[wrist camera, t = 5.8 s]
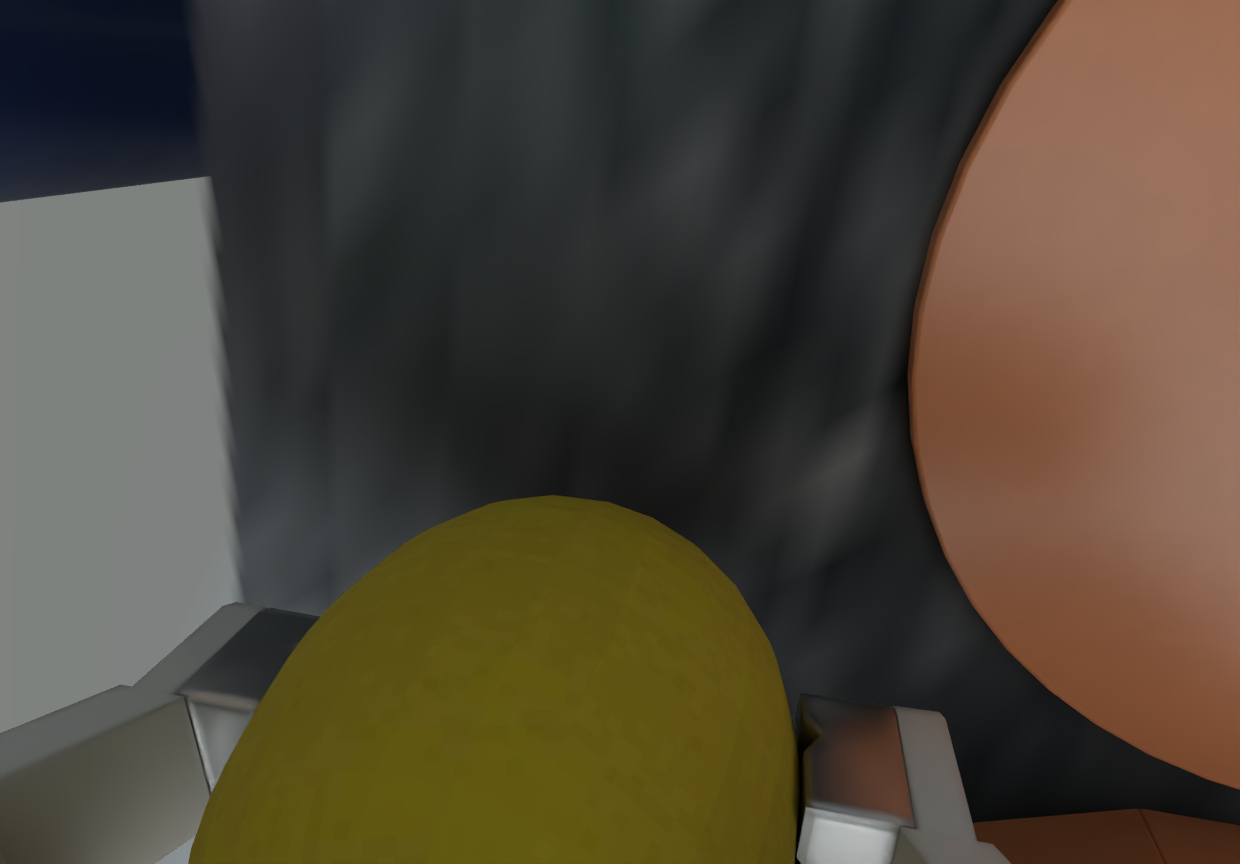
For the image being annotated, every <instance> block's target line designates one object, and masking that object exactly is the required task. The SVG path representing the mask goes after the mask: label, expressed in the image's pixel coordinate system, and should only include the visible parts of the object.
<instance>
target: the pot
mask: <svg viewBox="0 0 1240 864" xmlns="http://www.w3.org/2000/svg"><path fill="white" fill-rule="evenodd" d="M973 827H974V831H975V835H976V838H977V841H980V842H985V843H990V844H993V845H994V846H995V847H996V848H997V849H998V850H999V851H1000V852H1001V853H1002V854H1003V855H1004V856H1005V857H1006V859H1007V860H1008V861H1009V862H1010V863H1011V864H1240V825H1234V824H1228V823H1223V822H1217V821H1211V820H1205V819H1199V818H1194V817H1188V816H1182V815H1176V814H1170V813H1165V812H1159V811H1153V810H1147V809H1140V810H1139V809H1124V810H1113V811H1101V812H1090V813H1079V814H1067V815H1056V816H1044V817H1033V818H1022V819H1010V820H999V821H987V822H976V823H973Z"/></svg>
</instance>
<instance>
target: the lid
mask: <svg viewBox="0 0 1240 864" xmlns="http://www.w3.org/2000/svg"><path fill="white" fill-rule="evenodd" d="M907 377H908V398H909V419H910V437H911V442H912V447H913V452H914V457H915V462H916V467H917V472H918V476H919V481H920V486H921V491H922V495H923V498H924V502H925V505H926V507H927V510H928V513H929V515H930V518H931V521H932V523H933V526H934V529H935V532H936V534H937V537H938V540H939V542H940V545H941V548H942V550H943V553H944V556H945V558H946V560H947V561H948V563H949V565H950V567H951V569H952V570H953V572H954V574H955V576H956V577H957V579H958V581H959V583H960V585H961V586H962V588H963V590H964V592H965V594H966V595H967V597H968V599H969V601H970V602H971V604H972V606H973V607H974V608H975V610H976V611H977V612H978V613H979V615H980V616H981V617H982V619H983V620H984V621H985V623H986V624H987V625H988V626H989V628H990V629H991V630H992V632H993V633H994V634H995V635H996V637H997V638H998V639H999V641H1000V642H1001V643H1002V644H1003V646H1004V647H1005V648H1006V649H1007V650H1008V651H1009V652H1010V653H1011V654H1012V655H1013V656H1014V657H1015V658H1016V659H1017V660H1018V661H1019V662H1020V663H1021V664H1022V665H1023V666H1024V667H1025V668H1026V669H1027V670H1028V671H1029V672H1030V673H1031V674H1032V675H1033V676H1034V677H1036V678H1037V679H1038V680H1039V681H1040V682H1041V683H1042V684H1043V685H1044V686H1045V687H1046V688H1047V689H1048V690H1050V691H1051V692H1052V693H1054V694H1055V695H1056V696H1058V697H1059V698H1060V699H1062V700H1063V701H1065V702H1066V703H1067V704H1069V705H1070V706H1071V707H1073V708H1074V709H1075V710H1077V711H1078V712H1079V713H1081V714H1082V715H1083V716H1085V717H1086V718H1087V719H1089V720H1090V721H1092V722H1093V723H1094V724H1096V725H1097V726H1099V727H1101V728H1103V729H1104V730H1106V731H1108V732H1110V733H1111V734H1113V735H1115V736H1117V737H1119V738H1120V739H1122V740H1124V741H1126V742H1127V743H1129V744H1131V745H1133V746H1134V747H1136V748H1138V749H1140V750H1141V751H1143V752H1145V753H1147V754H1149V755H1151V756H1153V757H1156V758H1158V759H1160V760H1163V761H1165V762H1167V763H1170V764H1172V765H1174V766H1177V767H1179V768H1181V769H1184V770H1186V771H1188V772H1191V773H1193V774H1195V775H1198V776H1200V777H1202V778H1205V779H1207V780H1210V781H1213V782H1217V783H1220V784H1223V785H1226V786H1229V787H1233V788H1236V789H1239V790H1240V0H1058V1H1057V2H1056V3H1055V5H1054V6H1053V8H1052V9H1051V11H1050V12H1049V13H1048V15H1047V16H1046V18H1045V19H1044V21H1043V22H1042V24H1041V25H1040V27H1039V28H1038V30H1037V31H1036V33H1035V34H1034V36H1033V37H1032V39H1031V40H1030V42H1029V43H1028V44H1027V46H1026V47H1025V49H1024V50H1023V52H1022V53H1021V55H1020V56H1019V58H1018V59H1017V61H1016V62H1015V64H1014V65H1013V67H1012V68H1011V70H1010V71H1009V73H1008V74H1007V76H1006V77H1005V78H1004V80H1003V81H1002V83H1001V84H1000V86H999V88H998V90H997V92H996V94H995V96H994V98H993V100H992V101H991V103H990V105H989V107H988V109H987V111H986V113H985V115H984V117H983V119H982V121H981V122H980V124H979V126H978V128H977V130H976V132H975V134H974V136H973V138H972V140H971V141H970V143H969V145H968V147H967V149H966V151H965V153H964V155H963V157H962V159H961V160H960V162H959V165H958V168H957V170H956V173H955V175H954V178H953V181H952V183H951V186H950V189H949V191H948V194H947V196H946V199H945V202H944V204H943V207H942V209H941V212H940V215H939V217H938V220H937V223H936V225H935V228H934V230H933V233H932V236H931V239H930V243H929V247H928V251H927V256H926V260H925V264H924V268H923V272H922V276H921V280H920V285H919V289H918V293H917V297H916V301H915V305H914V312H913V322H912V332H911V342H910V352H909V363H908V373H907Z"/></svg>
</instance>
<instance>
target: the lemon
mask: <svg viewBox="0 0 1240 864" xmlns="http://www.w3.org/2000/svg"><path fill="white" fill-rule="evenodd" d="M799 795H800V791H799V757H798V748H797V740H796V734H795V729H794V724H793V720H792V715H791V711H790V707H789V704H788V700H787V696H786V693H785V689H784V685H783V682H782V678H781V674H780V671H779V667H778V663H777V660H776V657H775V655H774V652H773V649H772V646H771V644H770V642H769V640H768V638H767V636H766V635H765V633H764V631H763V630H762V628H761V626H760V625H759V623H758V621H757V620H756V618H755V617H754V615H753V613H752V612H751V610H750V608H749V607H748V605H747V603H746V602H745V600H744V598H743V597H742V595H741V593H740V592H739V590H738V588H737V587H736V585H735V584H734V583H733V582H732V581H731V580H730V579H729V578H728V577H727V576H726V575H725V574H724V573H723V572H722V571H721V570H720V569H719V568H718V567H717V566H716V565H715V564H714V563H713V562H712V561H711V560H710V559H709V558H708V557H707V556H706V555H705V554H704V553H703V552H702V551H701V550H700V549H699V548H698V547H697V546H696V545H695V544H693V543H692V542H690V541H689V540H687V539H686V538H684V537H682V536H681V535H679V534H678V533H676V532H675V531H673V530H671V529H670V528H668V527H667V526H665V525H663V524H662V523H660V522H659V521H657V520H656V519H654V518H652V517H649V516H646V515H644V514H641V513H638V512H635V511H632V510H630V509H627V508H624V507H621V506H618V505H616V504H613V503H610V502H605V501H597V500H589V499H582V498H574V497H566V496H557V495H548V496H539V497H530V498H521V499H512V500H504V501H500V502H495V503H490V504H487V505H485V506H482V507H480V508H477V509H475V510H473V511H470V512H468V513H465V514H463V515H460V516H458V517H455V518H453V519H450V520H448V521H445V522H443V523H441V524H439V525H436V526H434V527H432V528H430V529H427V530H425V531H424V532H422V533H420V534H419V535H417V536H416V537H414V538H412V539H411V540H409V541H407V542H406V543H405V544H403V545H402V546H401V547H400V548H398V549H397V550H396V551H394V552H393V553H392V554H391V555H389V556H388V557H387V558H385V559H384V560H383V561H382V562H381V563H379V564H378V565H377V566H376V567H374V568H373V569H372V570H371V571H370V572H368V573H367V574H366V575H365V576H364V577H362V578H361V579H360V580H359V581H357V582H356V583H355V584H354V585H353V586H351V587H350V588H349V589H348V590H347V591H346V592H345V593H344V594H342V595H341V596H340V597H339V598H338V599H337V600H336V601H335V602H334V603H333V604H332V605H331V606H330V607H329V608H328V609H327V610H326V611H325V612H324V613H323V614H322V616H321V617H320V618H319V619H318V620H317V621H316V623H315V624H314V625H313V626H312V627H311V628H310V629H309V631H308V632H307V633H306V634H305V636H304V637H303V638H302V640H301V641H300V642H299V644H298V645H297V647H296V648H295V649H294V651H293V652H292V653H291V655H290V656H289V657H288V659H287V660H286V662H285V664H284V665H283V667H282V668H281V670H280V671H279V673H278V675H277V676H276V678H275V679H274V681H273V683H272V684H271V686H270V687H269V689H268V690H267V692H266V694H265V696H264V697H263V699H262V701H261V702H260V704H259V706H258V708H257V709H256V711H255V713H254V714H253V716H252V718H251V719H250V721H249V723H248V725H247V726H246V728H245V730H244V731H243V733H242V735H241V737H240V739H239V741H238V742H237V744H236V746H235V748H234V750H233V751H232V753H231V755H230V757H229V759H228V761H227V762H226V764H225V766H224V768H223V770H222V772H221V775H220V777H219V779H218V781H217V783H216V785H215V788H214V790H213V792H212V794H211V796H210V798H209V800H208V803H207V805H206V807H205V810H204V813H203V816H202V819H201V822H200V825H199V828H198V831H197V834H196V837H195V839H194V842H193V845H192V848H191V853H190V858H189V864H795V856H796V837H797V823H798V810H799Z"/></svg>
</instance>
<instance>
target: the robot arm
mask: <svg viewBox="0 0 1240 864" xmlns="http://www.w3.org/2000/svg"><path fill="white" fill-rule="evenodd" d="M319 618H320V617H319V616H313V615H308V614H302V613H297V612H291V611H286V610H280V609H275V608H265V607H259V606H254V605H249V604H243V603H238V602H235V603H232V604H228V605H225V606H222V607H221V608H220V609H219V610H218V611H217V612H216V613H215V614H213V615H212V616H211V617H210V618H209V619H208V620H207V621H205V622H204V624H202V625H201V626H200V627H199V628H198V629H197V630H195V631H194V632H193V633H192V634H191V635H190V636H189V637H187V638H186V639H185V640H184V641H183V642H182V643H181V644H180V645H178V646H177V647H176V648H175V649H174V650H173V651H172V652H171V653H169V654H168V655H167V656H166V657H165V658H164V659H163V660H162V661H160V662H159V663H158V664H157V665H156V666H155V667H154V668H153V669H151V670H150V671H149V672H148V673H147V674H146V675H145V676H144V677H142V678H141V679H140V680H139V681H138V682H137V683H136V684H135V685H133V686H132V687H131V686H125V685H119V686H116V687H114V688H111V689H109V690H106V691H104V692H101V693H99V694H97V695H94V696H92V697H89V698H87V699H84V700H82V701H79V702H77V703H74V704H72V705H69V706H67V707H64V708H62V709H59V710H57V711H54V712H52V713H50V714H47V715H45V716H42V717H40V718H37V719H35V720H32V721H30V722H27V723H25V724H22V725H20V726H17V727H15V728H12V729H10V730H8V731H5V732H3V733H1V734H0V864H154V863H156V862H157V861H159V860H160V859H161V858H163V857H165V856H166V855H168V854H169V853H171V852H172V851H174V850H175V849H177V848H178V847H179V846H181V845H182V844H184V843H185V842H187V841H188V840H190V839H191V838H192V837H194V836H196V834H197V831H198V828H199V825H200V822H201V819H202V816H203V813H204V810H205V807H206V805H207V803H208V800H209V798H210V796H211V794H212V792H213V790H214V788H215V785H216V783H217V781H218V779H219V777H220V775H221V772H222V770H223V768H224V766H225V764H226V762H227V761H228V759H229V757H230V755H231V753H232V751H233V750H234V748H235V746H236V744H237V742H238V741H239V739H240V737H241V735H242V733H243V731H244V730H245V728H246V726H247V725H248V723H249V721H250V719H251V718H252V716H253V714H254V713H255V711H256V709H257V708H258V706H259V704H260V702H261V701H262V699H263V697H264V696H265V694H266V692H267V690H268V689H269V687H270V686H271V684H272V683H273V681H274V679H275V678H276V676H277V675H278V673H279V671H280V670H281V668H282V667H283V665H284V664H285V662H286V660H287V659H288V657H289V656H290V655H291V653H292V652H293V651H294V649H295V648H296V647H297V645H298V644H299V642H300V641H301V640H302V638H303V637H304V636H305V634H306V633H307V632H308V631H309V629H310V628H311V627H312V626H313V625H314V624H315V623H316V621H317V620H318V619H319ZM795 734H796V740H797V748H798V757H799V791H800V795H799V810H798V823H797V837H796V856H795V864H1011V863H1010V862H1009V861H1008V860H1007V859H1006V857H1005V856H1004V855H1003V854H1002V853H1001V852H1000V851H999V850H998V849H997V848H996V847H995V846H994V845H993V844H990V843H985V842H980V841H977V838H976V835H975V831H974V827H973V823H972V819H971V815H970V811H969V808H968V804H967V800H966V796H965V792H964V788H963V785H962V781H961V777H960V773H959V769H958V765H957V761H956V758H955V754H954V750H953V746H952V742H951V738H950V734H949V731H948V727H947V723H946V719H945V718H944V717H943V716H942V714H941V713H940V712H935V711H928V710H920V709H913V708H906V707H899V706H892V707H890V706H886V705H879V704H872V703H866V702H859V701H852V700H846V699H839V698H832V697H826V696H819V695H812V694H806V693H800V697H799V701H798V706H797V712H796V718H795Z"/></svg>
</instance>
